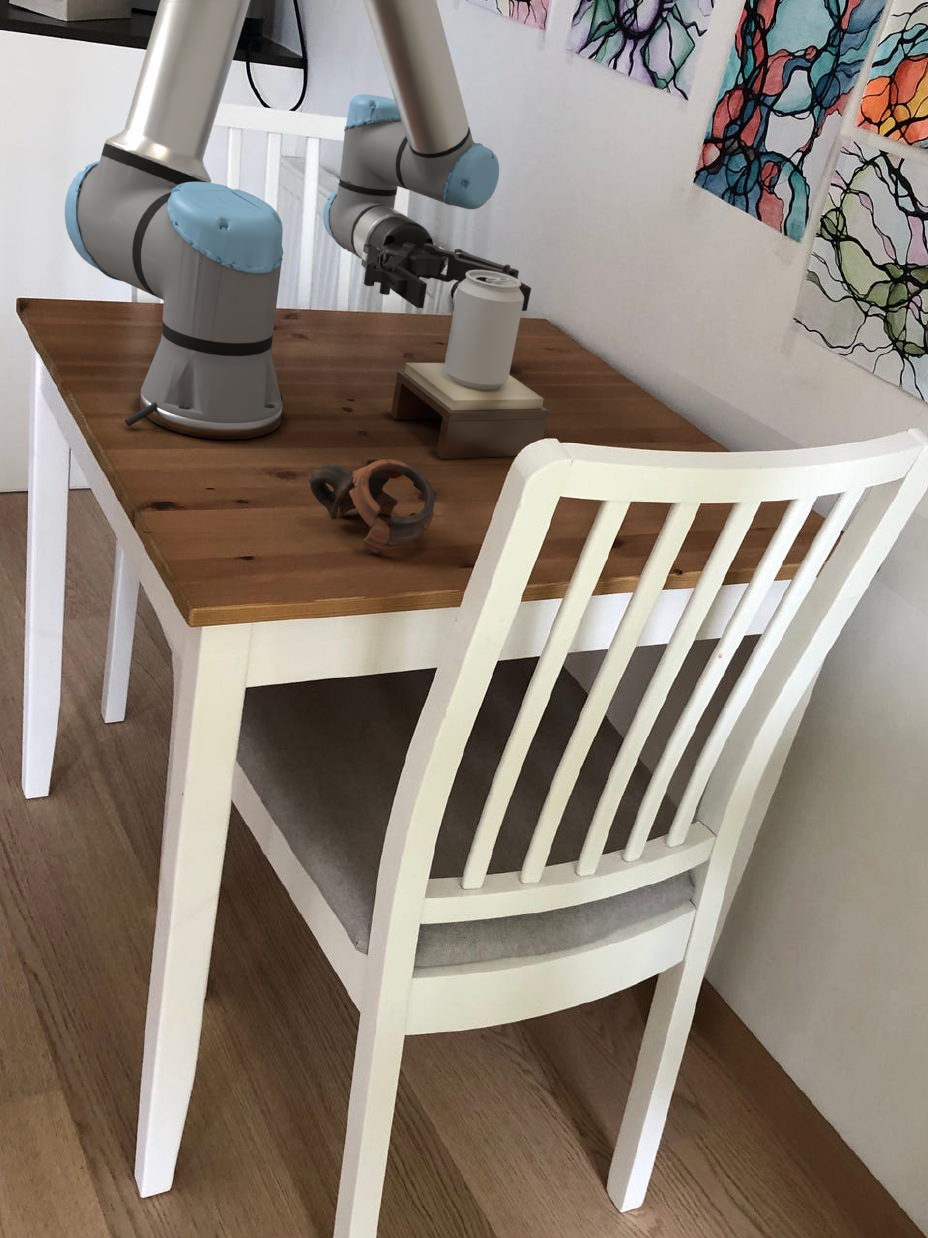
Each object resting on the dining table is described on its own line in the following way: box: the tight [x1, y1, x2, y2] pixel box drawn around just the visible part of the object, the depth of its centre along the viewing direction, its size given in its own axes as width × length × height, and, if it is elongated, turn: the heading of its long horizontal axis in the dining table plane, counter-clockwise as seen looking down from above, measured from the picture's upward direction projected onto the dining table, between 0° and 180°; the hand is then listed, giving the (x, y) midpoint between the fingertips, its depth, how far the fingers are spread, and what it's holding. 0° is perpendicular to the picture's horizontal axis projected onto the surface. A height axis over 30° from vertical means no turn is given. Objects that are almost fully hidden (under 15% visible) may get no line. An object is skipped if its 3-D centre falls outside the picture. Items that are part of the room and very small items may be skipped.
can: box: [444, 270, 524, 389], centre depth 139 cm, size 8×8×12 cm
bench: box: [390, 362, 550, 460], centre depth 143 cm, size 13×13×7 cm
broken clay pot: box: [308, 458, 436, 554], centre depth 116 cm, size 12×10×8 cm
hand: (475, 297), depth 139 cm, fingers open, 13 cm apart
